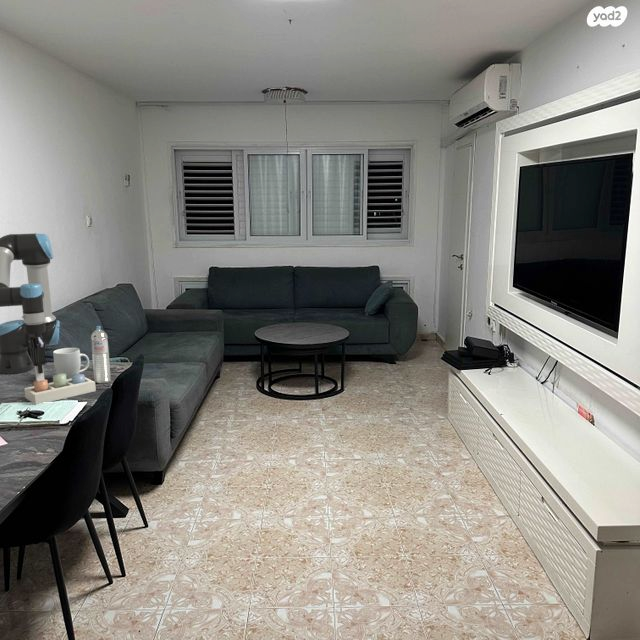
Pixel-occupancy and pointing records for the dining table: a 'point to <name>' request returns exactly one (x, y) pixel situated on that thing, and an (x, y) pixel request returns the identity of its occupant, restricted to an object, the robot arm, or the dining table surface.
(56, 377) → the button sage
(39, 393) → the cream button tray
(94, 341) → the water bottle
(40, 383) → the button terracotta
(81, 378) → the button blue
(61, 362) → the mug
